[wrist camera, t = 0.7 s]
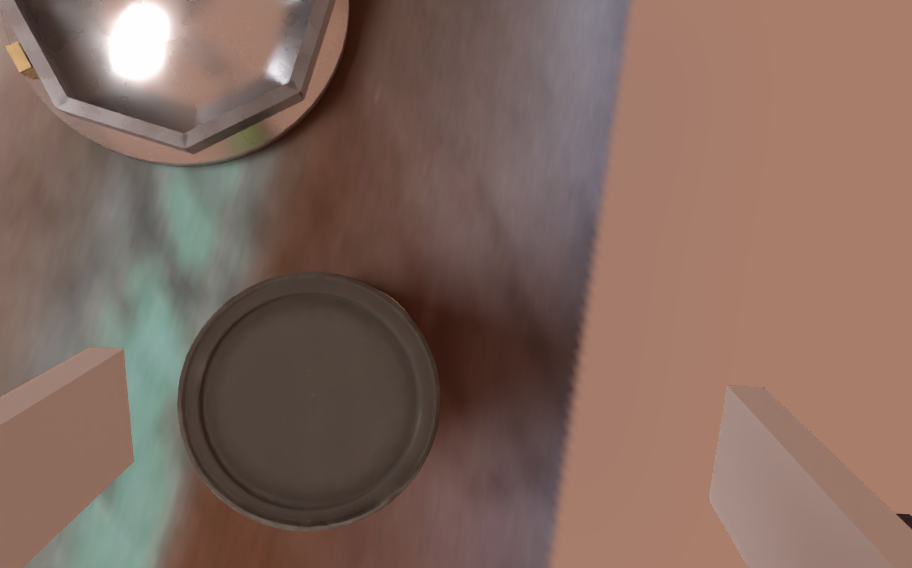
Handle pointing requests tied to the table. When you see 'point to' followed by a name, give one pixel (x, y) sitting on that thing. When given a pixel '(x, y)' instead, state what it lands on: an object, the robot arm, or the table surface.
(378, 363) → the coffee can
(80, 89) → the locking base
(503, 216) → the table surface
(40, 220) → the table surface
